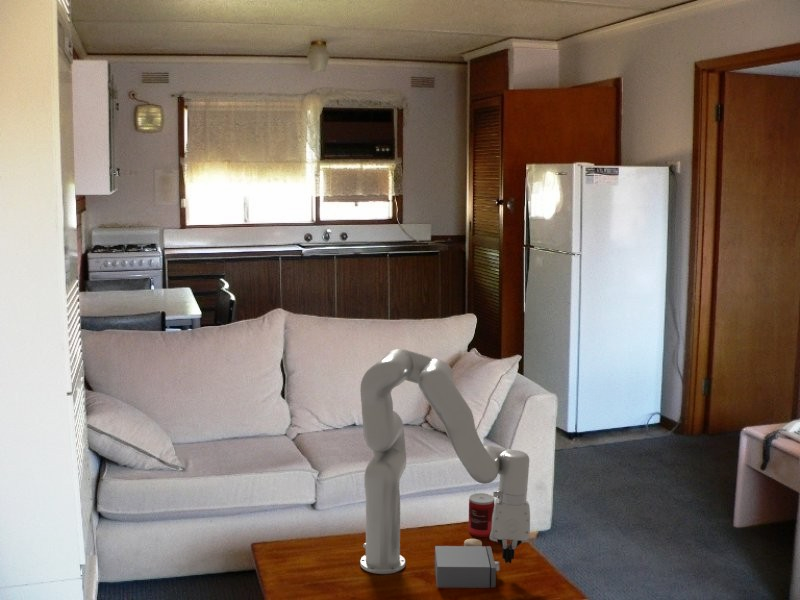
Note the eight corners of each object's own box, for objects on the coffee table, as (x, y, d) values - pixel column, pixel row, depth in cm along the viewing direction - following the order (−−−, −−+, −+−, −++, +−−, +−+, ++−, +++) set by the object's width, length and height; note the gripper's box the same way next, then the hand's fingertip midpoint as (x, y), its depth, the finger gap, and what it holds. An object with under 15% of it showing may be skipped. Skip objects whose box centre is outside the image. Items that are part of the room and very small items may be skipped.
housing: (436, 587, 247) (437, 566, 246) (434, 565, 260) (435, 545, 259) (489, 587, 247) (490, 567, 246) (484, 565, 260) (485, 546, 259)
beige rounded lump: (460, 555, 266) (460, 540, 266) (474, 552, 269) (475, 537, 268) (470, 562, 262) (470, 547, 261) (484, 558, 265) (485, 543, 264)
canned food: (487, 525, 288) (488, 491, 286) (497, 535, 280) (498, 501, 279) (464, 528, 285) (465, 494, 284) (474, 539, 278) (475, 503, 276)
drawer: (441, 586, 247) (441, 567, 246) (438, 564, 260) (438, 545, 259) (501, 587, 247) (502, 568, 246) (495, 564, 260) (496, 546, 259)
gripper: (486, 500, 246) (481, 566, 249) (542, 503, 246) (537, 568, 250) (483, 490, 254) (478, 553, 257) (538, 492, 254) (533, 556, 257)
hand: (507, 560), depth 253 cm, fingers closed
